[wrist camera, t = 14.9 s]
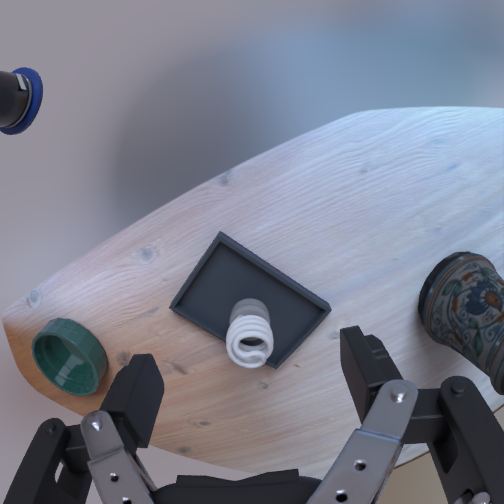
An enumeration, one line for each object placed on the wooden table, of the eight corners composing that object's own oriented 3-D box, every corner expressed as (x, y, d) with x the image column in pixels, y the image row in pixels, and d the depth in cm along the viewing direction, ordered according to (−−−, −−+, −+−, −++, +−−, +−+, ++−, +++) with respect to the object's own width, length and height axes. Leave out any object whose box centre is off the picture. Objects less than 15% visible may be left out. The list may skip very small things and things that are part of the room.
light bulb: (222, 308, 45) (214, 359, 34) (245, 280, 44) (244, 327, 32) (253, 328, 46) (254, 382, 35) (277, 302, 45) (285, 352, 33)
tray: (171, 301, 45) (168, 308, 43) (220, 230, 42) (218, 234, 40) (275, 361, 49) (276, 369, 47) (328, 303, 45) (331, 310, 43)
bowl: (39, 350, 49) (27, 364, 45) (53, 302, 46) (38, 316, 41) (95, 390, 52) (87, 406, 47) (118, 348, 48) (108, 366, 44)
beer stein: (399, 325, 47) (472, 434, 23) (449, 217, 41) (568, 282, 17) (460, 339, 49) (529, 424, 25) (505, 248, 43) (600, 308, 19)
